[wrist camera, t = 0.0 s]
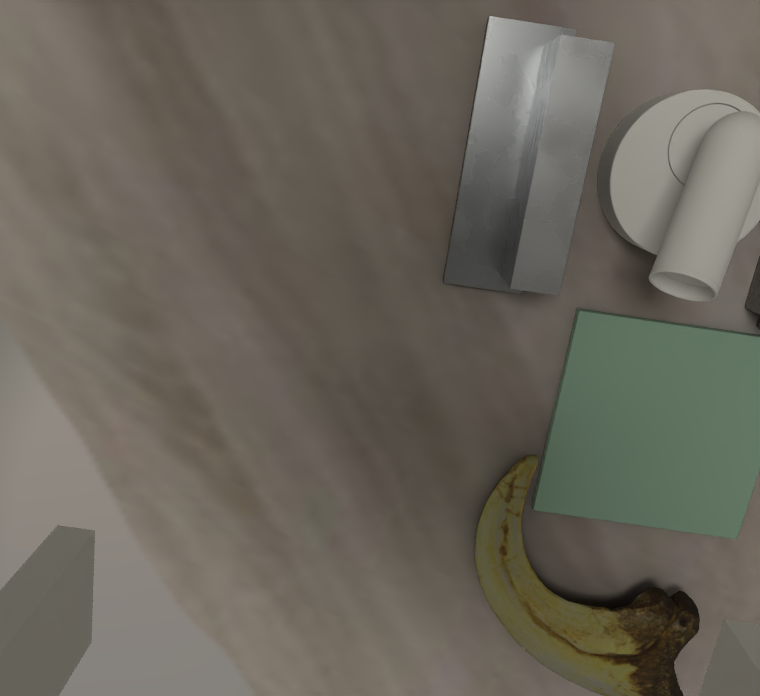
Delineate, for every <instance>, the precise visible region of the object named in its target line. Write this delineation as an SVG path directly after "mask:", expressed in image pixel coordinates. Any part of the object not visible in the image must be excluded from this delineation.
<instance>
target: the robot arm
mask: <svg viewBox="0 0 760 696" xmlns="http://www.w3.org/2000/svg"><path fill="white" fill-rule="evenodd" d="M94 543H95V531H94V530H87V529H80V528H73V527H66V526H59V525H58V526H57V527H56V528H55V529H54V530H53V531H52V532H51V533H50V535H49V536H48V537H47V538H46V539H45V540H44V541H43V543H42V544H41V545H40V546H39V547H38V548H37V549H36V551H35V552H34V553H33V554H32V555H31V556H30V557H29V558H28V560H27V561H26V562H25V563H24V564H23V565H22V566H21V568H20V569H19V570H18V571H17V572H16V573H15V574H14V576H13V577H12V578H11V579H10V580H9V581H8V583H6V585H5V586H4V587H3V588H2V589H1V590H0V696H59V694H60V693H61V691H62V689H63V688H64V686H65V685H66V683H67V681H68V680H69V678H70V676H71V675H72V673H73V671H74V670H75V668H76V667H77V665H78V663H79V662H80V660H81V658H82V657H83V655H84V653H85V652H86V650H87V648H88V647H89V645H90V644H91V639H92V608H93V604H92V603H93V576H94ZM699 696H760V624H753V623H746V622H739V621H732V620H724V622H723V625H722V628H721V631H720V634H719V637H718V640H717V643H716V646H715V649H714V652H713V655H712V657H711V660H710V663H709V666H708V669H707V672H706V675H705V678H704V681H703V684H702V687H701V690H700V693H699Z"/></svg>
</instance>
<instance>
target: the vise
mask: <svg viewBox="0 0 760 696" xmlns="http://www.w3.org/2000/svg"><path fill="white" fill-rule="evenodd" d="M575 33H576V29H571V28H564V27H558V26H551V25H545V24H538V23H532V22H525V21H519V20H512V19H506V18H499V17H492V16H489V17H488V20H487V26H486V31H485V37H484V43H483V49H482V55H481V60H480V66H479V72H478V78H477V84H476V90H475V95H474V101H473V107H472V113H471V119H470V124H469V130H468V136H467V142H466V148H465V154H464V159H463V165H462V171H461V177H460V183H459V189H458V194H457V200H456V206H455V212H454V218H453V223H452V229H451V235H450V241H449V247H448V253H447V258H446V264H445V270H444V276H443V283H448V284H455V285H462V286H468V287H475V288H482V289H489V290H496V291H502V292H509V293H516V294H522V291H529V292H536V293H543V294H550V295H557V296H559V293H560V288H561V284H562V279H563V275H564V270H565V266H566V261H567V256H568V252H569V247H570V243H571V238H572V234H573V229H574V225H575V220H576V216H577V211H578V207H579V202H580V198H581V193H582V189H583V184H584V180H585V175H586V171H587V166H588V162H589V157H590V153H591V148H592V144H593V139H594V135H595V130H596V126H597V121H598V117H599V112H600V108H601V103H602V99H603V94H604V90H605V85H606V81H607V76H608V72H609V67H610V63H611V58H612V53H613V49H614V44H615V43H613V42H606V41H600V40H593V39H587V38H580V37H575ZM745 308H747V309H749V310H751V311H753V312H755V313H757V314H759V315H760V258H759V261H758V264H757V268H756V271H755V274H754V278H753V281H752V284H751V287H750V291H749V294H748V297H747V301H746V304H745ZM757 327H759V328H760V316H759V319H758V323H757Z"/></svg>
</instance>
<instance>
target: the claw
mask: <svg viewBox="0 0 760 696" xmlns="http://www.w3.org/2000/svg"><path fill="white" fill-rule="evenodd" d="M537 463H538V458H537V456H536V455H528V456H526V457H524V458H522V459H521V460H520V461H518V462H517V463H516V464H515V465H514V466H513V467H512V468H511V470H510V471H509V472H508V473H507V474H506V475H505V476H504V477H503V478H502V479H501V480H500V482H499V483H498V484H497V486H496V488H495V489H494V491H493V492H492V494H491V495H490V497H489V499H488V501H487V503H486V504H485V507H484V509H483V512H482V515H481V518H480V521H479V524H478V529H477V535H476V546H475V564H476V568H477V572H478V574H479V581H480V583H481V586H482V589H483V591H484V594H485V596H486V598H487V601H488V602H489V604H490V606H491V608H492V610H493V611H494V613H495V614H496V616H497V617H498V619H499V620H500V622H501V623H502V624H503V625H504V626H505V628H506V629H507V630H508V632H509V633H510V634H511V636H512V637H513V638H514V639H515V640H516V641H517V643H518V644H519V645H520V646H522V647H524V648H525V650H526V651H527V652H528V653H529V654H530V655H532V656H533V657H534V658H535V659H537V660H538V661H539V662H540V663H541V664H543V665H544V666H546V667H547V668H548V669H550V670H551V671H553V672H555V673H557V674H558V675H560V676H562V677H564V678H565V679H567V680H569V681H571V682H573V683H575V684H578V685H580V686H582V687H584V688H586V689H588V690H590V691H592V692H595V693H598V694H601V695H604V696H683V693H682V691H681V690H680V687H679V685H678V682H677V678H676V673H675V670H674V661H675V659H676V658H677V656H678V654H679V653H680V651H681V650H682V649H683V647H684V646H685V645H686V644H687V643H688V642H689V641H690V640H691V639H692V638H693V637H694V636H695V635H696V634H697V632H698V630H699V622H700V617H699V613H698V609H697V606H696V604H695V603H694V602H693V600H692V599H691V598H690V597H689V596H688V595H687V594H686V593H685V592H683V591H678V592H677V593H675V594H674V595H672V596H671V597H669V596H668V595H667V594H666V593H665V592H664V591H663V590H662V589H660V588H655V587H652V588H649V589H647V590H646V591H644V592H643V593H642V594H640V595H639V596H637V598H636V599H635V600H634V601H633V602H632V603H631V604H629V605H627V606H623V607H618V608H615V609H609V608H606V607H593V606H589V605H583V604H579V603H574V602H571V601H568V600H566V599H564V598H562V597H560V596H558V595H556V594H554V593H552V592H551V591H550V590H549V589H547V588H546V587H545V586H544V584H543V583H542V582H541V581H540V579H539V578H538V576H537V575H536V574H535V572H534V570H533V569H532V567H531V565H530V563H529V561H528V559H527V556H526V552H525V548H524V544H523V538H522V530H521V514H522V510H523V505H524V501H525V498H526V494H527V491H528V488H529V485H530V481H531V478H532V476H533V474H534V471H535V469H536V467H537Z"/></svg>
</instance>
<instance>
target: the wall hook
mask: <svg viewBox="0 0 760 696" xmlns="http://www.w3.org/2000/svg"><path fill="white" fill-rule="evenodd" d="M597 190H598V197H599V201H600V204H601V208H602V210H603V213H604V215H605V217H606V218H607V220H608V222H609V223H610V225H611V226H612V227H613V228H614V230H615V231H616V232H617V233H618V234H619V235H620V236H621V237H623V238H624V239H625V240H627V241H628V242H630V243H631V244H633V245H635V246H637V247H639V248H642V249H644V250H646V251H648V252H650V253H652V254H655V255H657V257H656V260H655V262H654V265H653V268H652V270H651V273H650V275H649V281H650V282H651V283H652V285H654V286H655V287H656V288H657V289H659V290H661V291H663V292H665V293H667V294H669V295H671V296H674V297H677V298H681V299H684V300H689V301H697V302H707V301H712V300H714V299H715V298H716V297H717V295H718V292H719V289H720V287H721V284H722V281H723V279H724V276H725V273H726V271H727V268H728V265H729V263H730V260H731V257H732V255H733V252H734V249H735V247H736V244H737V242H738V241H740V240H741V239H742V238H744V237H745V236H746V235H747V234H748V233H749V232H750V231H751V230H752V229H753V228H754V227H755V226H756V225H757V223H758V222H759V221H760V112H759V111H758V110H757V109H756V108H754V107H753V106H752V105H751V104H749V103H748V102H747V101H745V100H743V99H742V98H740V97H737V96H735V95H733V94H730V93H727V92H723V91H718V90H709V89H700V90H691V91H684V92H678V93H671V94H667V95H663V96H660V97H657V98H655V99H652V100H650V101H648V102H646V103H644V104H642V105H641V106H639V107H638V108H636V109H635V110H634V111H632V112H631V113H630V114H629V115H628V116H627V117H625V118H624V119H623V120H622V122H621V123H620V124H619V125H618V126H617V127H616V129H615V130H614V131H613V133H612V134H611V136H610V138H609V139H608V141H607V143H606V145H605V147H604V150H603V152H602V155H601V158H600V162H599V167H598V174H597Z"/></svg>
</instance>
